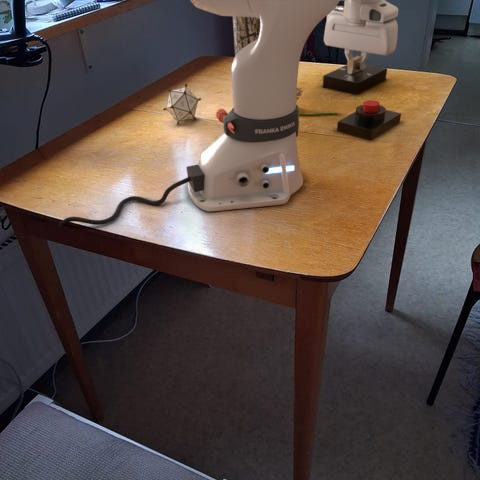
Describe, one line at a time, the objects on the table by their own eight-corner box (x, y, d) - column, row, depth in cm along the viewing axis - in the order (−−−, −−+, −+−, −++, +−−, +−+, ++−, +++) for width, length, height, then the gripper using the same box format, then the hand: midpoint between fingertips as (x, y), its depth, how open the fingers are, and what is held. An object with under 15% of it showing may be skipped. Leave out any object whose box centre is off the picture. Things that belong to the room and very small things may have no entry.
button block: (370, 140, 105) (373, 122, 102) (336, 130, 110) (338, 113, 107) (399, 123, 111) (402, 105, 108) (366, 114, 116) (368, 97, 113)
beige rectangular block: (352, 75, 128) (353, 59, 126) (347, 73, 129) (348, 58, 126) (363, 69, 131) (365, 54, 128) (358, 68, 132) (360, 53, 129)
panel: (356, 95, 126) (358, 82, 123) (322, 87, 131) (323, 74, 129) (385, 80, 132) (387, 67, 130) (352, 73, 138) (353, 61, 136)
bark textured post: (265, 131, 112) (262, 5, 95) (236, 130, 113) (228, 6, 96) (269, 120, 117) (267, -2, 100) (242, 119, 118) (235, -1, 101)
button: (372, 115, 106) (373, 107, 105) (359, 111, 108) (359, 103, 107) (381, 110, 108) (382, 102, 107) (368, 106, 110) (369, 98, 109)
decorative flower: (338, 80, 113) (275, 83, 115) (338, 106, 113) (274, 109, 114) (335, 97, 121) (275, 99, 122) (335, 121, 121) (275, 123, 122)
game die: (179, 137, 122) (149, 106, 116) (194, 113, 125) (165, 82, 119) (199, 126, 115) (168, 93, 110) (214, 101, 118) (185, 68, 112)
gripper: (320, 6, 124) (317, 65, 133) (390, 15, 113) (382, 78, 122) (335, 1, 127) (331, 59, 136) (404, 9, 116) (395, 71, 125)
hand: (355, 68), depth 129 cm, fingers closed on beige rectangular block, 2 cm apart
